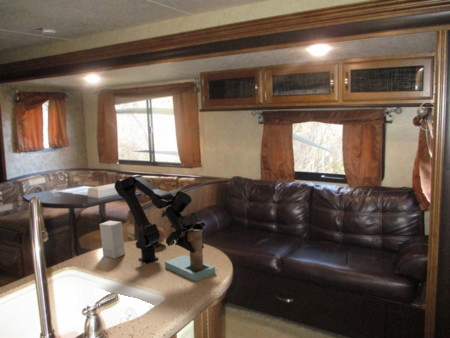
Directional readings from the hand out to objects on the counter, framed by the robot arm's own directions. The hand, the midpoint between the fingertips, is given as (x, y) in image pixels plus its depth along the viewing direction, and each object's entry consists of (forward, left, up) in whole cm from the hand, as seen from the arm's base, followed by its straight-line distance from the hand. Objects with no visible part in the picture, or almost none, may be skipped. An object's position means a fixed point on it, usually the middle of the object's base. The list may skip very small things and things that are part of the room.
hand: (198, 250), depth 139 cm
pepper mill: (-1, 0, -8) cm, 8 cm away
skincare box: (-46, -13, -10) cm, 49 cm away
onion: (-43, +8, -10) cm, 45 cm away
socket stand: (-6, 0, -10) cm, 12 cm away
